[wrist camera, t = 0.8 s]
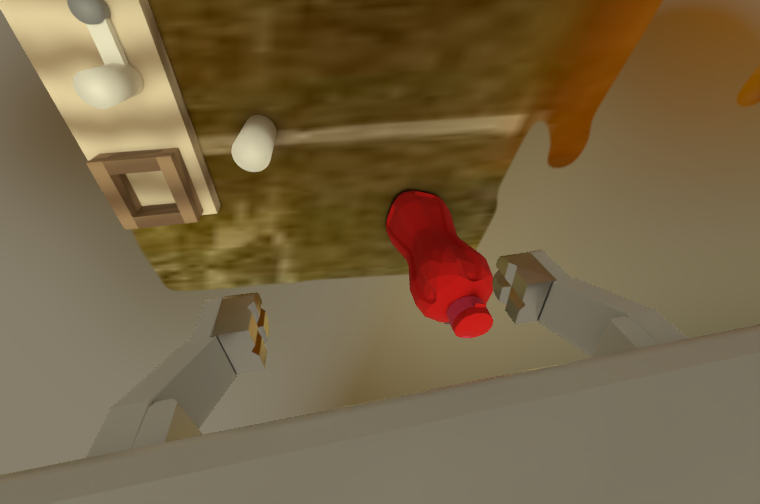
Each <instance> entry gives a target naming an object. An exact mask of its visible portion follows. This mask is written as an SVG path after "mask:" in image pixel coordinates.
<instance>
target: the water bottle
mask: <svg viewBox="0 0 760 504" xmlns="http://www.w3.org/2000/svg"><path fill="white" fill-rule="evenodd" d="M386 232H387V234H388V236H389V238H390V240H391V242H392V244H393V245H394V246H395V247H396V249H397V250H398V251H399V252H400V253H401V254H402V256H403V257H404V258H405V259H406V260H407V263H408V266H409V280H410V291H411V293H412V296H413V298H414V301H415V304H416V305H417V307H418V308H419V309H420V310H421V312H422V313H423V314H424V316H425V317H428V318H431V319H434V320H436V321H439V322H444V323H445V324H450V325H451V327H452V329H453V331H454V333H455V334H456V336H458V337H462V338H473V337H477V336H480V335H483V334H485V333H486V332H488V330H489V329H490V328H491V327H492V324H493V319H492V316H491V315H490V313H489V311H488V309H487V308H486V303H487V301H488V299H489V297H490V296H491V294H492V292H493V284H492V282H493V276H492V273H491V271H490V268H489V266H488V263H487V261H486V259H485V258H484V257H483V256H482V255H481V254H480V253H478V252H477V251H476V250H474V249H473V248H472V247H470V246H469V245H468V244H466V243H465V242H464V241H462V240H461V239H459V237H458V236H457V234H456V231H455V227H454V223H453V220H452V216H451V214H450V211H449V209H448V208H447V206H446V205H445V203H444V201H443V200H442V199H441V198H439V197H437V196H435V195H433V194H430V193H424V192H420V191H406V192H403V193H402V194H400V195H399V196H397V198H396V199H395V201H394V202H393V204H392V206H391V209H390V212H389V215H388V217H387V229H386Z"/></svg>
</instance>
